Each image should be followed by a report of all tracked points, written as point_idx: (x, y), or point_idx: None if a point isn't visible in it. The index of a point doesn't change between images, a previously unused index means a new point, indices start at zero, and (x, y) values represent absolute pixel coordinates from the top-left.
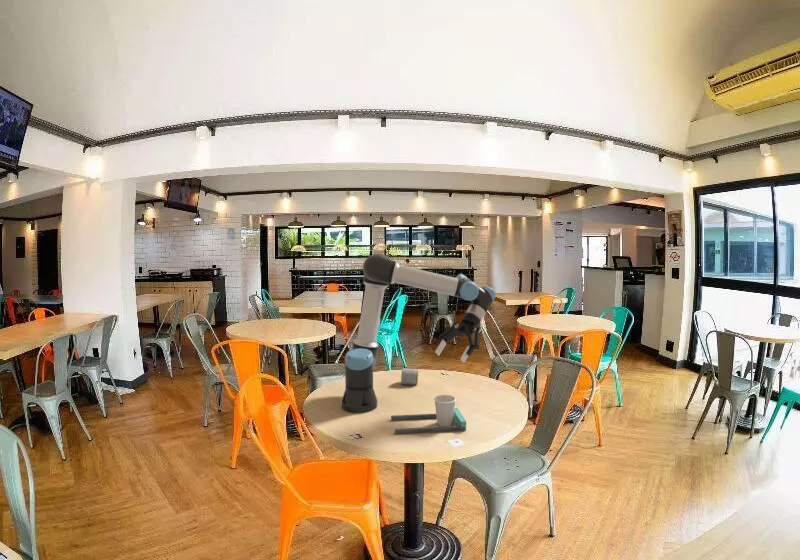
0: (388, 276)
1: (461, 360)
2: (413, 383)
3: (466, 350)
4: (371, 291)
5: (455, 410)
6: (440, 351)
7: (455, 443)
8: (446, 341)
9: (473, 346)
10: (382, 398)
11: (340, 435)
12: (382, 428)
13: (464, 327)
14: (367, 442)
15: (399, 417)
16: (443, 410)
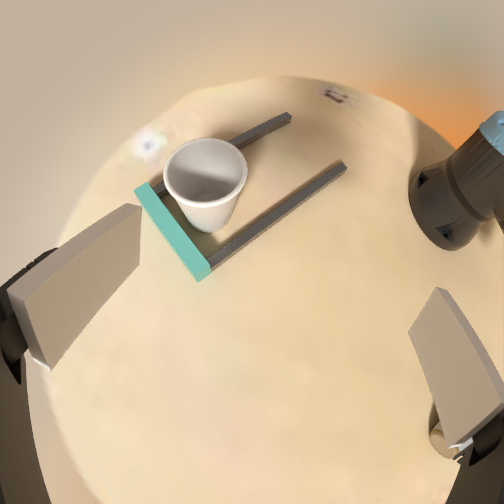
0: None
1: (137, 231)
2: (437, 423)
3: (58, 250)
4: None
5: (190, 248)
6: (426, 348)
7: (147, 138)
8: (465, 461)
9: None
10: (443, 282)
11: (356, 92)
12: (324, 130)
13: None
14: (303, 84)
15: (327, 172)
16: (198, 160)
